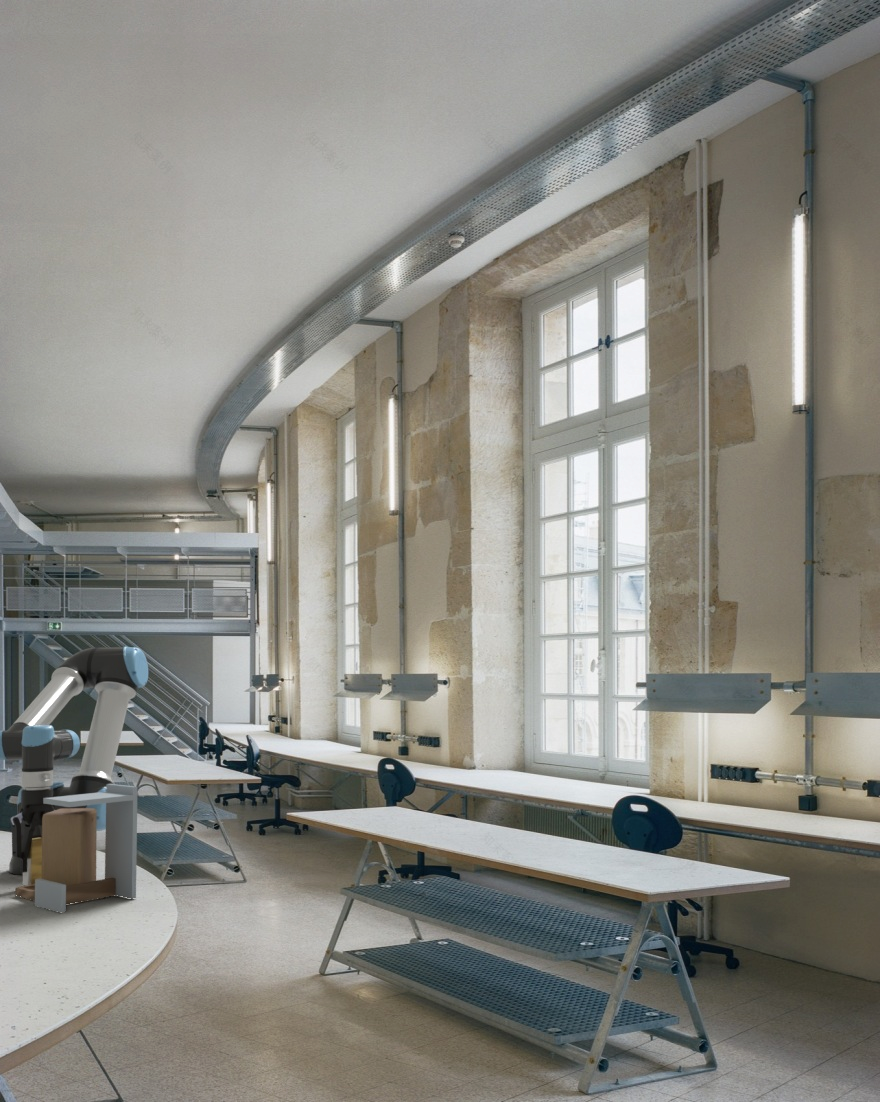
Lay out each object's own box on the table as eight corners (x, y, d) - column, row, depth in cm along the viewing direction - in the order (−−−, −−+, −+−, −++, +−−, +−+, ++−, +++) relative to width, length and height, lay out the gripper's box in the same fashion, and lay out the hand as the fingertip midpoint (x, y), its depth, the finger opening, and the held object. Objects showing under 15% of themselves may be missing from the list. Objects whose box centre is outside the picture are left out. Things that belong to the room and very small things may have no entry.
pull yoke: (2, 892, 270) (3, 842, 271) (59, 882, 281) (59, 834, 282) (57, 907, 252) (57, 853, 253) (115, 895, 264) (115, 844, 265)
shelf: (34, 906, 254) (37, 790, 257) (108, 892, 268) (110, 783, 270) (60, 913, 246) (63, 794, 248) (135, 899, 260) (137, 786, 262)
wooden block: (97, 891, 268) (98, 807, 270) (80, 900, 258) (81, 813, 260) (57, 891, 269) (58, 807, 271) (39, 900, 259) (40, 813, 261)
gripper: (12, 792, 267) (10, 891, 265) (76, 785, 280) (75, 879, 278) (-3, 790, 272) (-5, 887, 270) (61, 783, 285) (59, 876, 283)
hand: (35, 883), depth 274 cm, fingers closed on pull yoke, 4 cm apart
